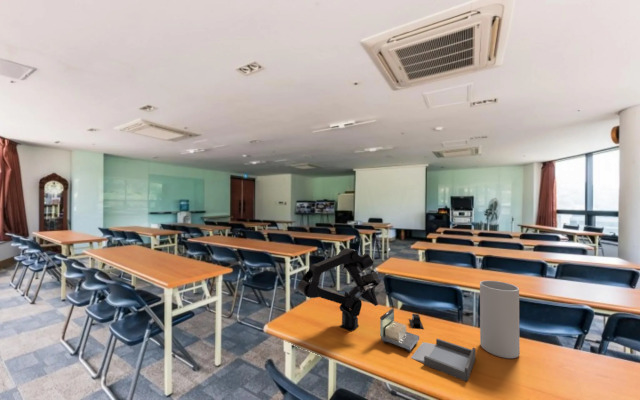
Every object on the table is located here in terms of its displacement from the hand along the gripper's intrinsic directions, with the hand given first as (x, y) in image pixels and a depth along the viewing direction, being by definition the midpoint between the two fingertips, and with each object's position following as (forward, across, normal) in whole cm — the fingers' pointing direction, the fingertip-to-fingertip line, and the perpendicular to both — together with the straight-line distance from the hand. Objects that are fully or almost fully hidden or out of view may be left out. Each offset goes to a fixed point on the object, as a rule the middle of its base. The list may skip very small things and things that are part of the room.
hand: (376, 305), depth 110 cm
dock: (+28, +2, -9) cm, 30 cm away
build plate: (+15, +22, +4) cm, 27 cm away
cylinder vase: (+37, +24, -20) cm, 48 cm away
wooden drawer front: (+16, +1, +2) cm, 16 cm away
